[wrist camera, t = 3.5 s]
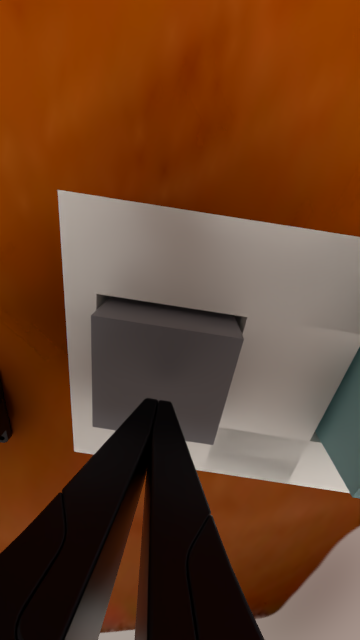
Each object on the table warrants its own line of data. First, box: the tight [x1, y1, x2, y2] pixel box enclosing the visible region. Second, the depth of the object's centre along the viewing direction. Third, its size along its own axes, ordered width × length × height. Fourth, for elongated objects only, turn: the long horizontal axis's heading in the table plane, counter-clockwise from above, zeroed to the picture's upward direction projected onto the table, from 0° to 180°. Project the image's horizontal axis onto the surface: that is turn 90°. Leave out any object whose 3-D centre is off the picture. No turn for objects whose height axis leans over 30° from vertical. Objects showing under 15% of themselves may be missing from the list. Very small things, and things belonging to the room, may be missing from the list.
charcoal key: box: [91, 296, 244, 445], centre depth 10 cm, size 5×5×3 cm
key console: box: [58, 190, 360, 493], centre depth 11 cm, size 18×12×4 cm, turn 82°
